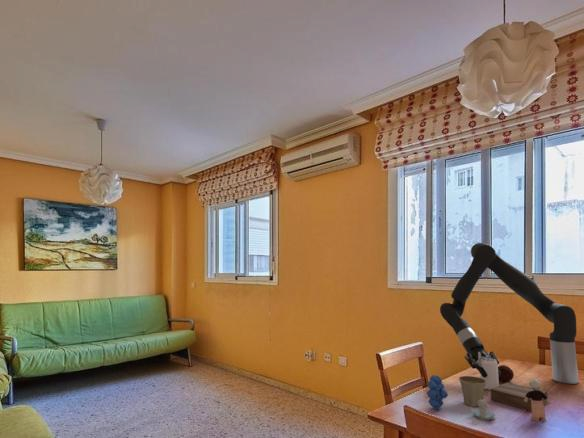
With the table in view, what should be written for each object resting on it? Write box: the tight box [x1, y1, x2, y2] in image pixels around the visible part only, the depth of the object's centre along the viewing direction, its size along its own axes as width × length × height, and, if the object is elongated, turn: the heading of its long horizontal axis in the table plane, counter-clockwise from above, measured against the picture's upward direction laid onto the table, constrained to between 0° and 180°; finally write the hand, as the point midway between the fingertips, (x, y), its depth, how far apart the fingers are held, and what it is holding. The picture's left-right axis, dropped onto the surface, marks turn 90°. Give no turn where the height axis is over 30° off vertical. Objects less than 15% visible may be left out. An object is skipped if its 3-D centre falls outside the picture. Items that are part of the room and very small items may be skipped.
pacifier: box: [470, 399, 496, 421], centre depth 128 cm, size 7×6×6 cm
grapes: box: [426, 374, 449, 411], centre depth 135 cm, size 12×7×12 cm, turn 139°
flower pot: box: [458, 375, 487, 407], centre depth 141 cm, size 9×9×9 cm
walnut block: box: [489, 382, 548, 412], centre depth 143 cm, size 14×14×4 cm
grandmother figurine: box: [524, 378, 551, 422], centre depth 127 cm, size 8×4×13 cm, turn 92°
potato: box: [498, 364, 515, 383], centre depth 169 cm, size 7×8×7 cm
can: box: [480, 357, 500, 391], centre depth 159 cm, size 6×6×12 cm
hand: (492, 375), depth 158 cm, fingers closed on can, 6 cm apart
